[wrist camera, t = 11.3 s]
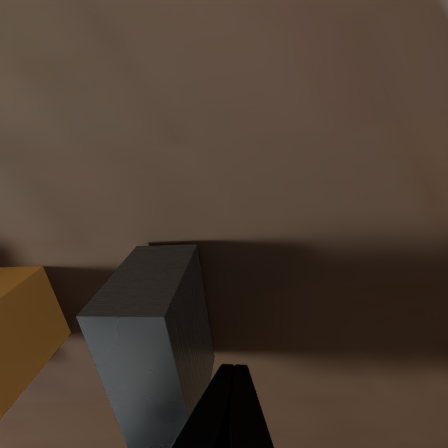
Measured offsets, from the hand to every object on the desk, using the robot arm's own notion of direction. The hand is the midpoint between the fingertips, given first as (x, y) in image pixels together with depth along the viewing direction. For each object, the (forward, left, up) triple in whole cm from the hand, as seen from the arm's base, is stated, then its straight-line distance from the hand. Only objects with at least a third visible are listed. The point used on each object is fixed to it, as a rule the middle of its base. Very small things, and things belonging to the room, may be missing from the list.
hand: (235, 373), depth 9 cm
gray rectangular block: (0, +3, -3) cm, 4 cm away
